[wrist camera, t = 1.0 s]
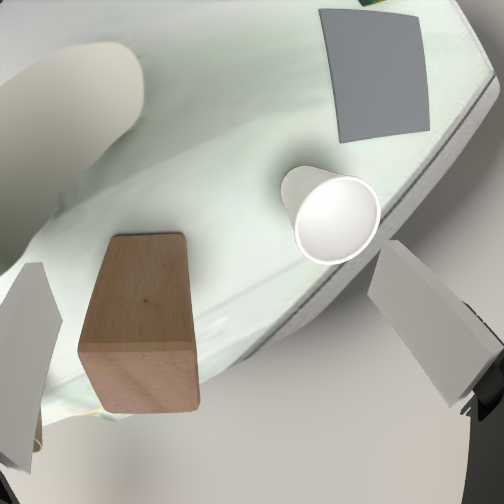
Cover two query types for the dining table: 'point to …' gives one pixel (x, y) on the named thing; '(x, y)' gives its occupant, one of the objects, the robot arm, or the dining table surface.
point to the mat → (376, 73)
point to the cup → (330, 213)
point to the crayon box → (369, 2)
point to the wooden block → (142, 328)
